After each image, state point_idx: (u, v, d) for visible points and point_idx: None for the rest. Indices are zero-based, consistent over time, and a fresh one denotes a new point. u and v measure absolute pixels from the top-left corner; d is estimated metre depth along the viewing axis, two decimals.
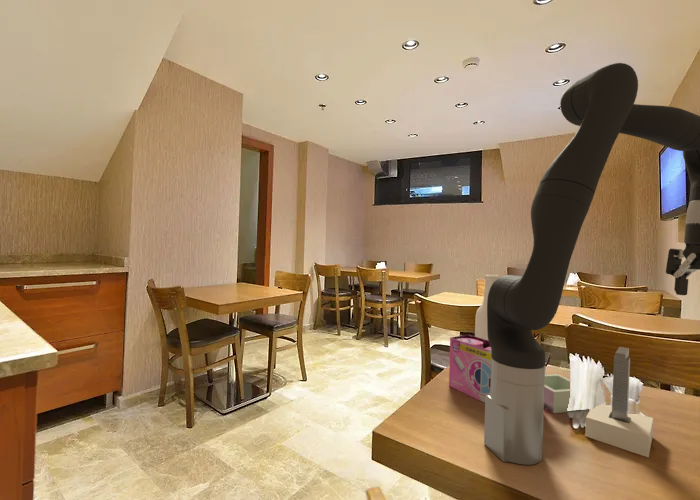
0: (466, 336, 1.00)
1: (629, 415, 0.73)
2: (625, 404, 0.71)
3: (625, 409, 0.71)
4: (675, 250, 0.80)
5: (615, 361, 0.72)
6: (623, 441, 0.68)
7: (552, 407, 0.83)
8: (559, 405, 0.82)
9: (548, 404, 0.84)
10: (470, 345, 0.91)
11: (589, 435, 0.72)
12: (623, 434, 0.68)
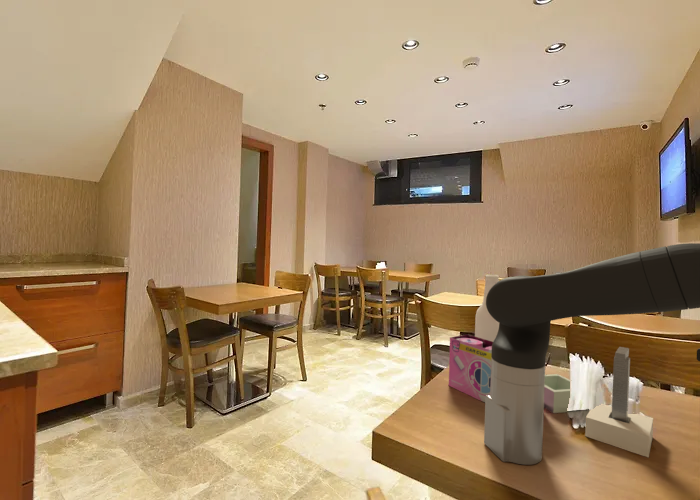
0: (465, 336, 1.00)
1: (629, 415, 0.73)
2: (625, 404, 0.71)
3: (625, 409, 0.71)
4: None
5: (615, 361, 0.72)
6: (623, 441, 0.68)
7: (552, 407, 0.83)
8: (559, 405, 0.82)
9: (548, 404, 0.84)
10: (470, 345, 0.91)
11: (589, 435, 0.72)
12: (623, 434, 0.68)
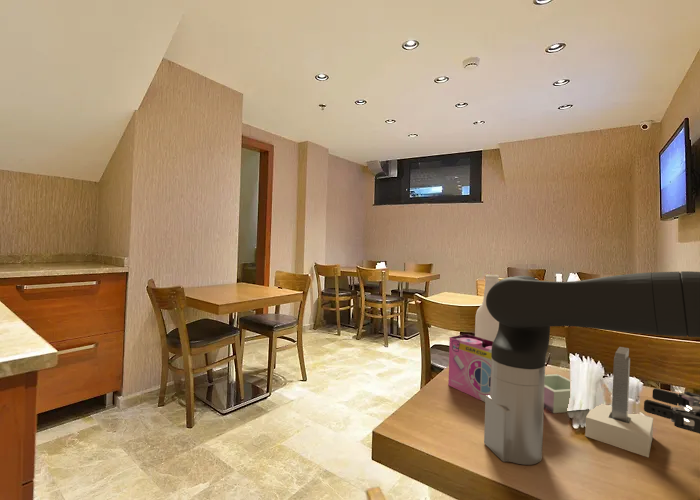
0: (465, 336, 1.00)
1: (629, 415, 0.73)
2: (625, 404, 0.71)
3: (625, 409, 0.71)
4: None
5: (615, 361, 0.72)
6: (623, 441, 0.68)
7: (552, 407, 0.83)
8: (559, 405, 0.82)
9: (548, 404, 0.84)
10: (470, 344, 0.91)
11: (589, 435, 0.72)
12: (623, 434, 0.68)
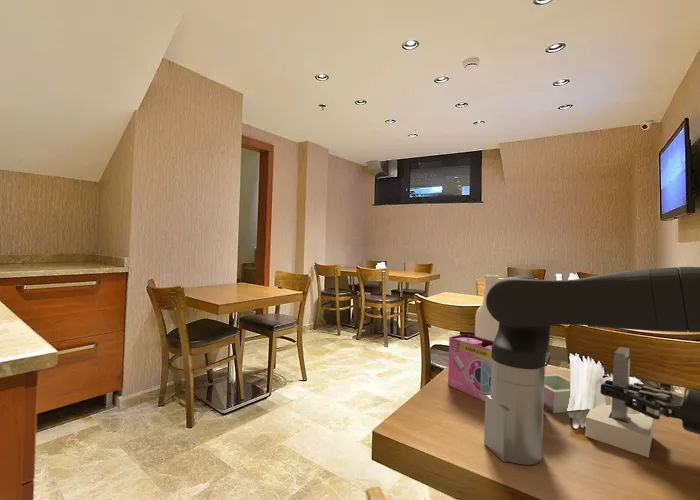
0: (464, 335, 1.01)
1: (629, 415, 0.73)
2: None
3: (625, 409, 0.71)
4: (668, 391, 0.71)
5: (615, 361, 0.72)
6: (623, 441, 0.68)
7: (552, 407, 0.83)
8: (559, 405, 0.82)
9: (548, 404, 0.84)
10: (470, 344, 0.91)
11: (589, 435, 0.72)
12: (623, 434, 0.68)
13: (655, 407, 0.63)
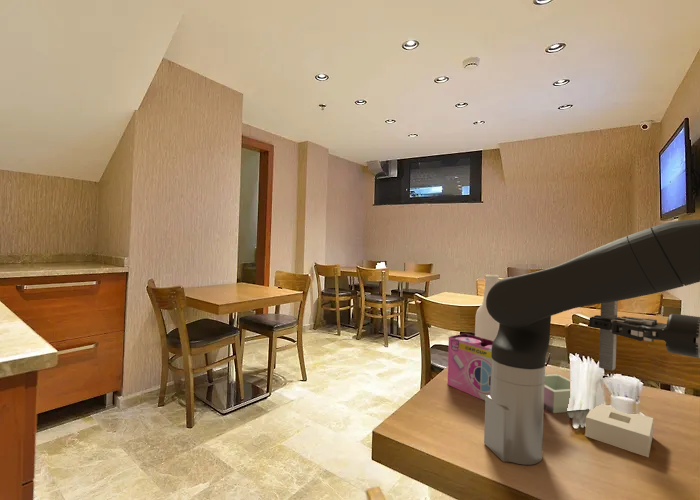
0: (463, 335, 1.01)
1: (629, 415, 0.73)
2: (612, 335, 0.74)
3: (612, 339, 0.74)
4: None
5: None
6: (623, 441, 0.68)
7: (552, 407, 0.83)
8: (559, 405, 0.82)
9: (548, 404, 0.84)
10: (469, 344, 0.92)
11: (589, 435, 0.72)
12: (623, 434, 0.68)
13: (639, 329, 0.66)
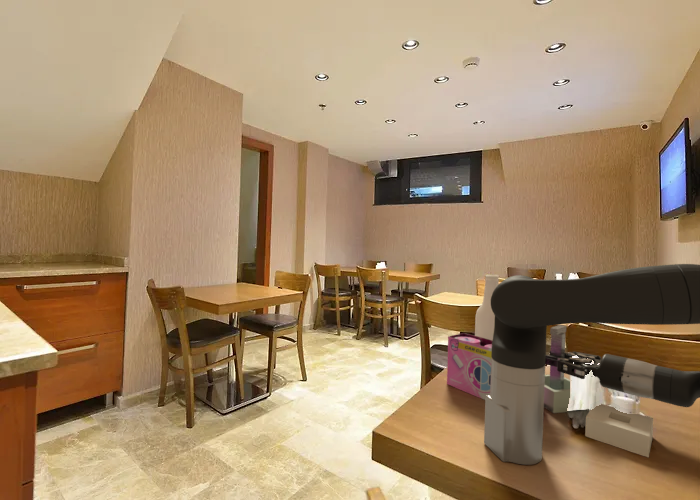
0: (462, 334, 1.01)
1: (629, 415, 0.73)
2: None
3: (559, 375, 0.86)
4: (599, 358, 0.86)
5: (552, 335, 0.88)
6: (623, 441, 0.68)
7: (552, 407, 0.83)
8: (559, 405, 0.82)
9: (548, 404, 0.84)
10: (469, 343, 0.92)
11: (589, 435, 0.72)
12: (623, 434, 0.68)
13: (582, 369, 0.78)
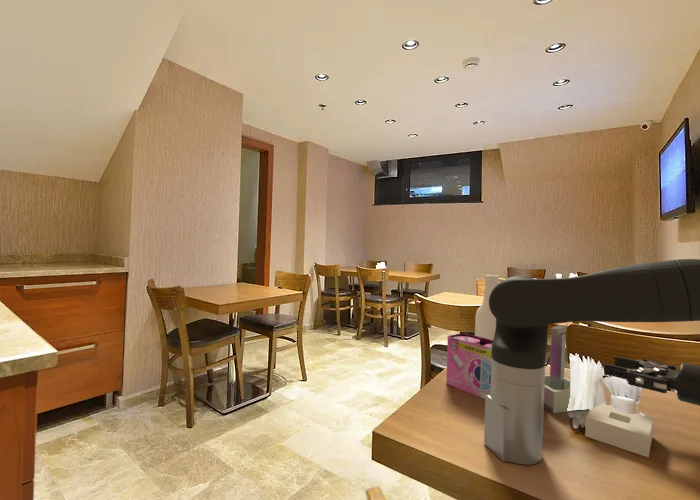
0: (461, 334, 1.02)
1: (629, 415, 0.73)
2: (559, 371, 0.86)
3: (559, 375, 0.86)
4: (673, 368, 0.76)
5: (552, 335, 0.88)
6: (623, 441, 0.68)
7: (552, 407, 0.83)
8: (559, 405, 0.82)
9: (548, 404, 0.84)
10: (469, 343, 0.92)
11: (589, 435, 0.72)
12: (623, 434, 0.68)
13: (665, 382, 0.67)
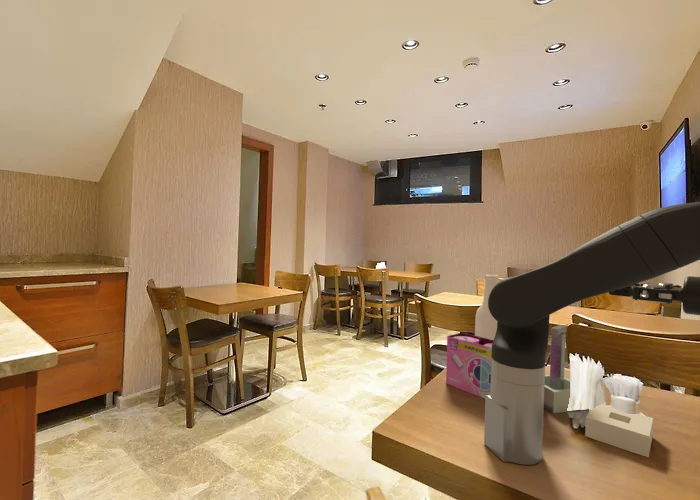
0: (461, 334, 1.02)
1: (629, 415, 0.73)
2: (559, 371, 0.86)
3: (559, 375, 0.86)
4: (678, 287, 0.75)
5: (552, 335, 0.88)
6: (623, 441, 0.68)
7: (552, 407, 0.83)
8: (559, 405, 0.82)
9: (548, 404, 0.84)
10: (469, 343, 0.93)
11: (589, 435, 0.72)
12: (623, 434, 0.68)
13: (670, 291, 0.67)
